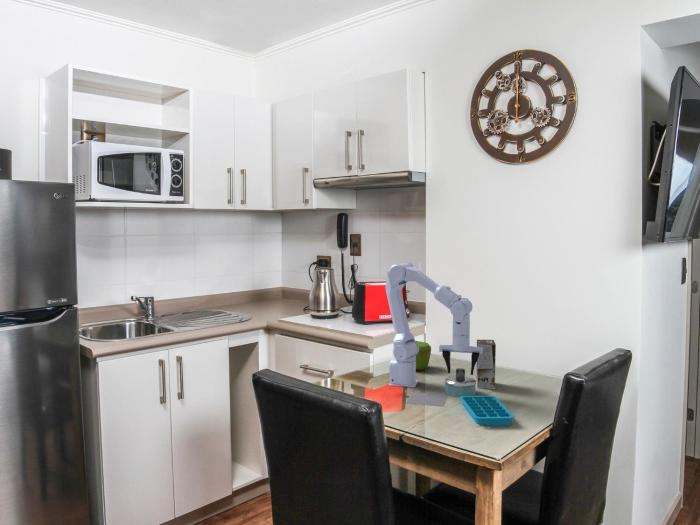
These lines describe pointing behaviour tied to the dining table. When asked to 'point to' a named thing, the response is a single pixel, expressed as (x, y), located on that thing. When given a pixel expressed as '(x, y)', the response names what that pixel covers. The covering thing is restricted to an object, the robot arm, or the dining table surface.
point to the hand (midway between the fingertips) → (460, 373)
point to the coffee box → (486, 365)
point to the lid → (460, 379)
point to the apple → (423, 355)
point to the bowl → (459, 391)
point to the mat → (427, 399)
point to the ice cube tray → (487, 410)
